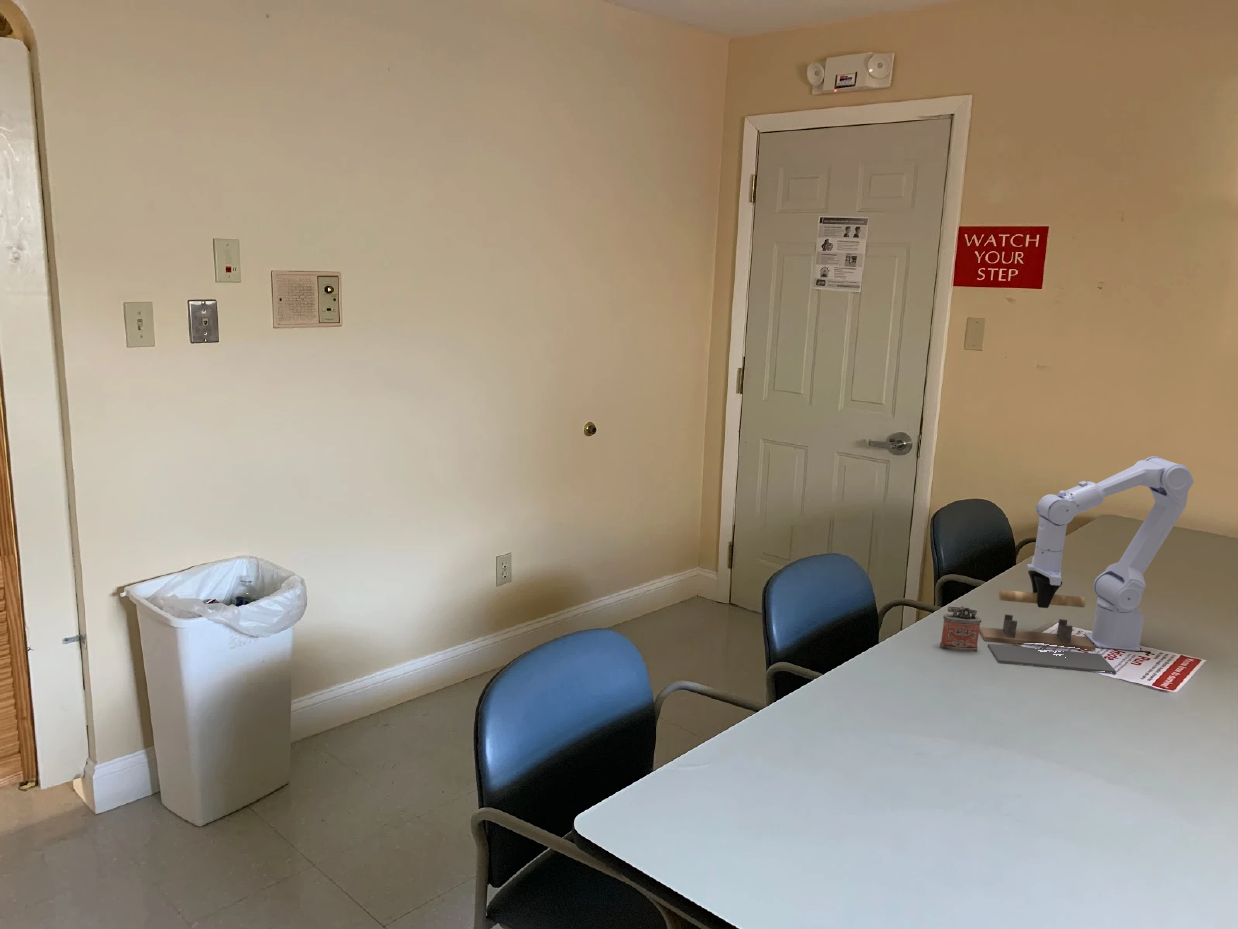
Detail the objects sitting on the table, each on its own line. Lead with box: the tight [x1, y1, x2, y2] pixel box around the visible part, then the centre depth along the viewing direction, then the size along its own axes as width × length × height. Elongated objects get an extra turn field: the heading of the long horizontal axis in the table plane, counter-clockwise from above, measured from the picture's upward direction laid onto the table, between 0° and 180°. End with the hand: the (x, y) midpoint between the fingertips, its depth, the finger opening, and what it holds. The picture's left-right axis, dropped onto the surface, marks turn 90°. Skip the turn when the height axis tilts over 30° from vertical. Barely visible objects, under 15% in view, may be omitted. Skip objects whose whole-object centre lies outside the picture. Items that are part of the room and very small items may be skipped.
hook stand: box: [979, 614, 1097, 651], centre depth 208 cm, size 24×6×5 cm, turn 82°
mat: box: [987, 643, 1117, 674], centre depth 198 cm, size 24×9×1 cm, turn 82°
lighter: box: [939, 604, 982, 653], centre depth 201 cm, size 8×3×10 cm, turn 84°
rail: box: [998, 589, 1086, 608], centre depth 207 cm, size 18×2×2 cm, turn 82°
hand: (1040, 605), depth 207 cm, fingers closed on rail, 2 cm apart
